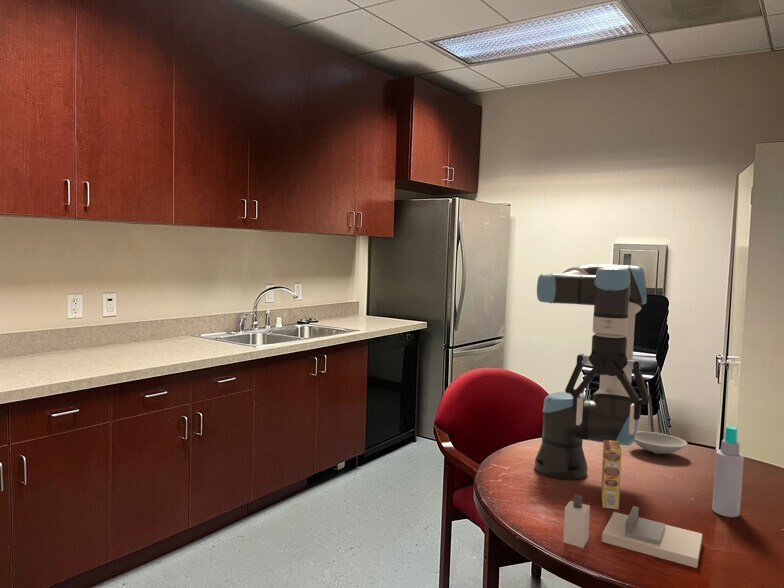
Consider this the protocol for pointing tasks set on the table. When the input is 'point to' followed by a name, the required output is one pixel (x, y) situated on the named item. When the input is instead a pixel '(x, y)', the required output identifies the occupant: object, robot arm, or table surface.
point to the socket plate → (672, 545)
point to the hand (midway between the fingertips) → (604, 428)
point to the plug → (576, 522)
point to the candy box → (611, 474)
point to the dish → (659, 442)
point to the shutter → (643, 527)
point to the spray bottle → (728, 476)
